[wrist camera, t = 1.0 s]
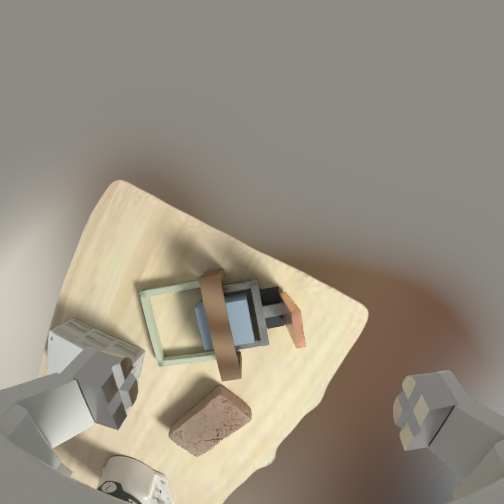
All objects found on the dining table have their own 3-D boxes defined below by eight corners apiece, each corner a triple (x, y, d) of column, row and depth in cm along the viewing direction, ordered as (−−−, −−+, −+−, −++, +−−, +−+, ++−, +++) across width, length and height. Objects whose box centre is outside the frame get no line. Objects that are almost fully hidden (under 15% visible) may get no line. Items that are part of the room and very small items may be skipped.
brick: (199, 447, 50) (197, 460, 46) (169, 425, 50) (164, 438, 45) (253, 405, 50) (254, 418, 46) (220, 381, 50) (218, 393, 45)
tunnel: (241, 357, 49) (241, 378, 41) (225, 360, 49) (222, 381, 41) (223, 268, 49) (218, 274, 40) (206, 271, 49) (198, 278, 40)
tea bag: (54, 457, 50) (39, 475, 40) (73, 472, 50) (59, 491, 40) (52, 461, 50) (37, 479, 40) (70, 475, 50) (56, 494, 40)
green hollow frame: (218, 355, 49) (217, 359, 47) (161, 362, 49) (158, 366, 47) (201, 279, 49) (200, 281, 47) (142, 290, 49) (139, 291, 47)
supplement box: (68, 369, 49) (45, 386, 40) (73, 316, 49) (47, 328, 39) (135, 402, 50) (119, 426, 40) (146, 350, 49) (128, 370, 40)
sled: (292, 335, 49) (308, 366, 35) (216, 348, 49) (207, 384, 35) (282, 274, 48) (296, 286, 35) (203, 289, 48) (187, 306, 35)
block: (253, 330, 49) (254, 342, 43) (208, 338, 49) (204, 350, 43) (246, 292, 49) (246, 299, 43) (200, 300, 49) (194, 308, 43)
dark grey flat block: (284, 325, 49) (284, 325, 49) (267, 328, 49) (267, 328, 49) (277, 286, 49) (278, 286, 49) (260, 289, 49) (260, 290, 49)
